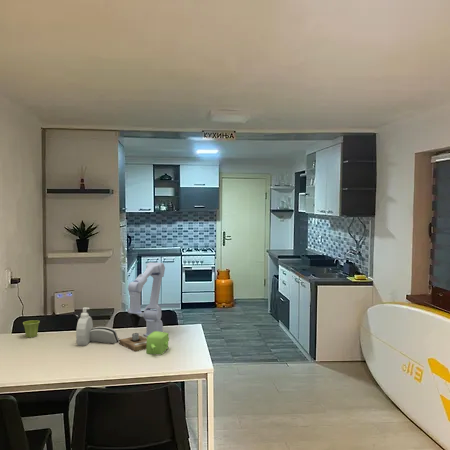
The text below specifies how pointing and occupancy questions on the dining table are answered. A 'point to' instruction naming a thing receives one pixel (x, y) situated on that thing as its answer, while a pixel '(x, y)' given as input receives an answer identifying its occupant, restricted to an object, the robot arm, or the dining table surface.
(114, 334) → the grey rounded piece
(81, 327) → the soap bottle
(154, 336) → the gearbox
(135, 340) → the mottled grey cylinder
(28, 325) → the plant pot
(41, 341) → the dining table surface
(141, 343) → the jig
